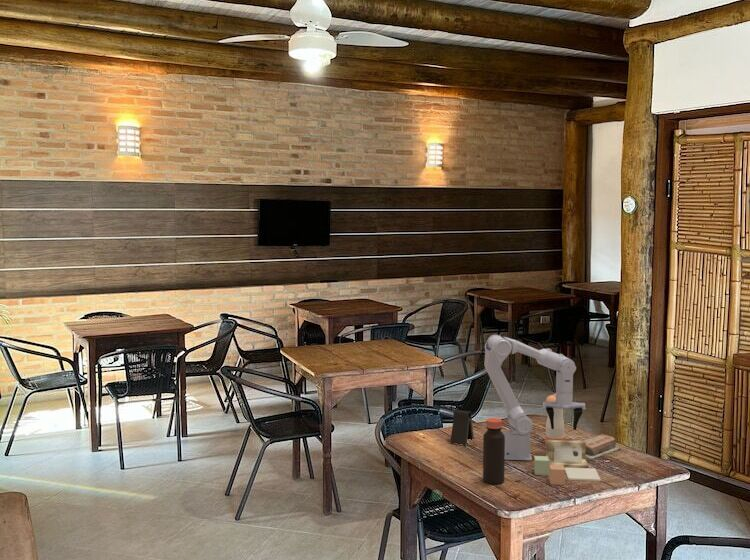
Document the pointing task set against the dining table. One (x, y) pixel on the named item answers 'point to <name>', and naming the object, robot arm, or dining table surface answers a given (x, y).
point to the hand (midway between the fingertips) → (563, 428)
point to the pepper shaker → (555, 423)
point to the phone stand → (461, 427)
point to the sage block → (541, 465)
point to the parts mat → (582, 474)
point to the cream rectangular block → (567, 453)
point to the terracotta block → (557, 474)
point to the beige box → (567, 465)
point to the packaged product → (600, 446)
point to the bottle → (493, 452)
